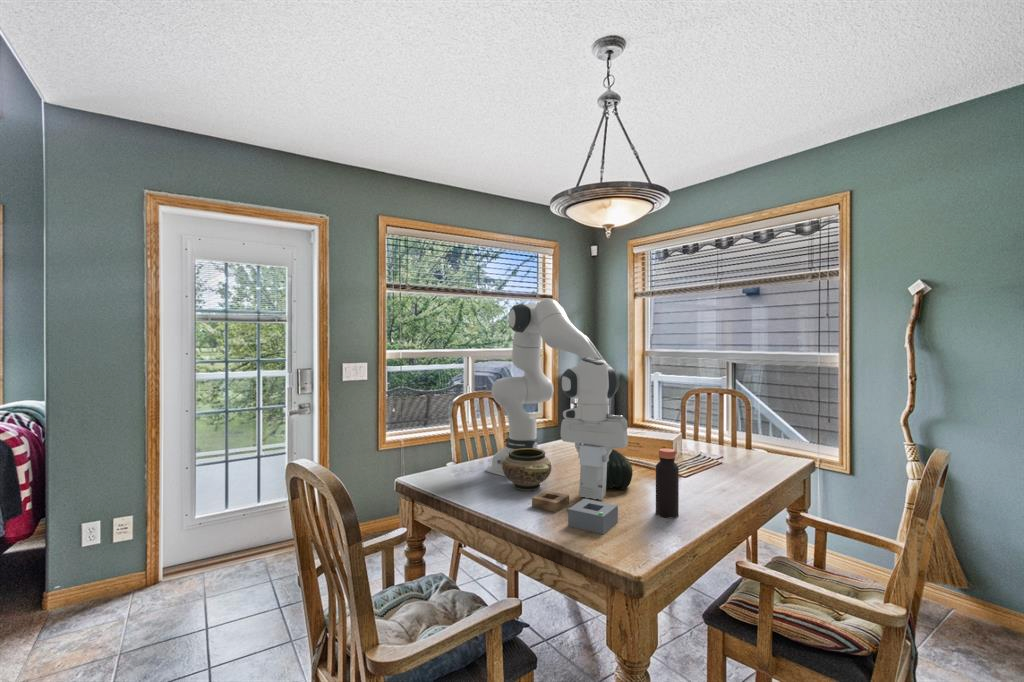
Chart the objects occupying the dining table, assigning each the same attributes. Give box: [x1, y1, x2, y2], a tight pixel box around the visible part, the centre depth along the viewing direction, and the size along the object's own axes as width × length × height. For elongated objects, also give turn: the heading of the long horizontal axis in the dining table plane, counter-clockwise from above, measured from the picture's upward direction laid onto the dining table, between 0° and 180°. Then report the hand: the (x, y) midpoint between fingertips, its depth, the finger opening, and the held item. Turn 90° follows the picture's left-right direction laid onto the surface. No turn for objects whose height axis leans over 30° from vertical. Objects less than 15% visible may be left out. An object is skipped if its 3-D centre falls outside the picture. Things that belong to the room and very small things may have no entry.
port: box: [567, 498, 619, 535], centre depth 145 cm, size 11×11×5 cm
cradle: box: [531, 490, 570, 513], centre depth 160 cm, size 9×9×3 cm
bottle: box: [655, 447, 680, 518], centre depth 153 cm, size 7×7×20 cm
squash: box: [606, 448, 634, 490], centre depth 181 cm, size 14×15×15 cm
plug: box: [579, 444, 607, 481], centre depth 145 cm, size 6×6×10 cm
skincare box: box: [578, 463, 607, 501], centre depth 169 cm, size 8×6×15 cm
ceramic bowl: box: [502, 448, 552, 491], centre depth 181 cm, size 24×18×15 cm
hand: (593, 459), depth 145 cm, fingers closed on plug, 6 cm apart
